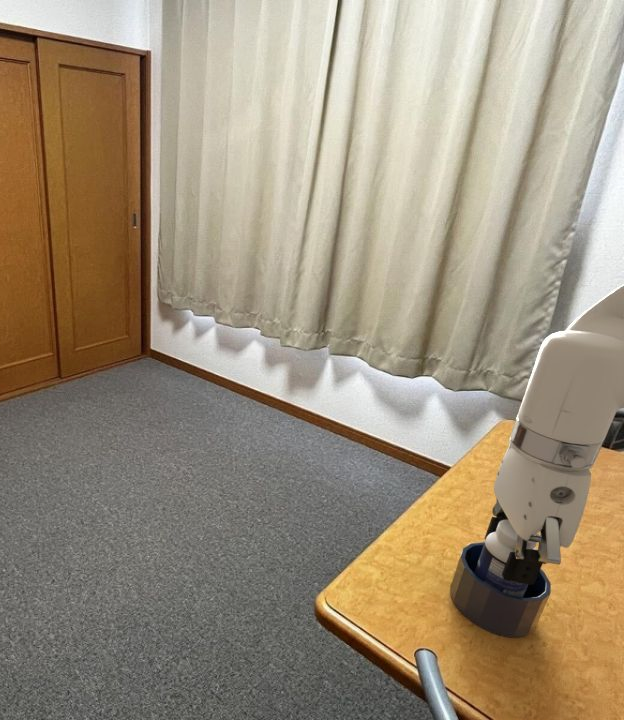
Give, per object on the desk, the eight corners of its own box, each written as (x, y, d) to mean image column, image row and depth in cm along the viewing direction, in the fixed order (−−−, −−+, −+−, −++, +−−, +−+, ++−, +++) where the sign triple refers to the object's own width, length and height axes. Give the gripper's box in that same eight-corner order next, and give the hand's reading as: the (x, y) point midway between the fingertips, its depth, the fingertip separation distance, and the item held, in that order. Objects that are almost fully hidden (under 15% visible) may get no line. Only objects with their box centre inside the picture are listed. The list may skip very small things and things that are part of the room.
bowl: (517, 585, 66) (531, 550, 64) (548, 646, 58) (565, 609, 56) (441, 570, 69) (452, 536, 66) (461, 627, 61) (474, 590, 58)
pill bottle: (478, 565, 66) (497, 509, 62) (525, 587, 62) (549, 529, 58) (467, 588, 62) (487, 530, 58) (517, 613, 59) (541, 553, 55)
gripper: (643, 494, 45) (577, 627, 52) (557, 408, 60) (514, 521, 67) (548, 481, 47) (497, 611, 54) (488, 401, 62) (454, 511, 69)
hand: (507, 560), depth 60 cm, fingers closed on pill bottle, 5 cm apart
